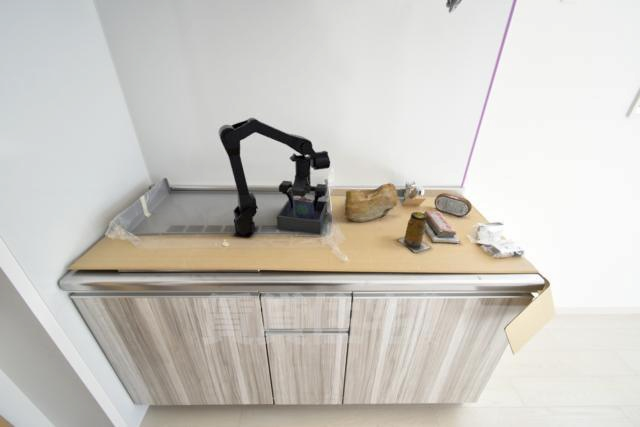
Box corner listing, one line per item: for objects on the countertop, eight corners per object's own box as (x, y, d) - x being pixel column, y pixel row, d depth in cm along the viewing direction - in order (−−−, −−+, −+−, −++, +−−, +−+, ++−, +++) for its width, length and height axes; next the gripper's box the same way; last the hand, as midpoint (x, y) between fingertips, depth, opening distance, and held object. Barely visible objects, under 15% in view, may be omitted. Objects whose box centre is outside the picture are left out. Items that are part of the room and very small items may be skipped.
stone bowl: (382, 205, 118) (384, 175, 112) (399, 219, 104) (403, 186, 97) (336, 210, 114) (336, 180, 108) (347, 226, 100) (348, 192, 93)
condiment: (412, 236, 94) (419, 208, 88) (429, 248, 87) (438, 219, 81) (398, 240, 91) (404, 212, 85) (414, 253, 84) (422, 224, 78)
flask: (292, 217, 102) (291, 195, 97) (295, 214, 105) (294, 192, 99) (312, 221, 100) (312, 199, 94) (315, 218, 102) (315, 195, 96)
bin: (277, 228, 97) (276, 216, 94) (290, 208, 112) (289, 197, 109) (320, 234, 94) (320, 221, 91) (327, 212, 109) (327, 201, 106)
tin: (468, 217, 108) (474, 200, 104) (466, 219, 106) (472, 202, 101) (433, 206, 116) (438, 190, 112) (431, 208, 114) (436, 192, 110)
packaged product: (420, 209, 103) (443, 209, 103) (417, 218, 106) (440, 219, 105) (435, 232, 88) (463, 233, 87) (432, 243, 90) (459, 244, 90)
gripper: (272, 176, 87) (275, 213, 94) (323, 180, 84) (322, 219, 91) (282, 166, 96) (284, 201, 104) (328, 170, 93) (326, 206, 101)
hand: (303, 207), depth 100 cm, fingers closed on flask, 9 cm apart
